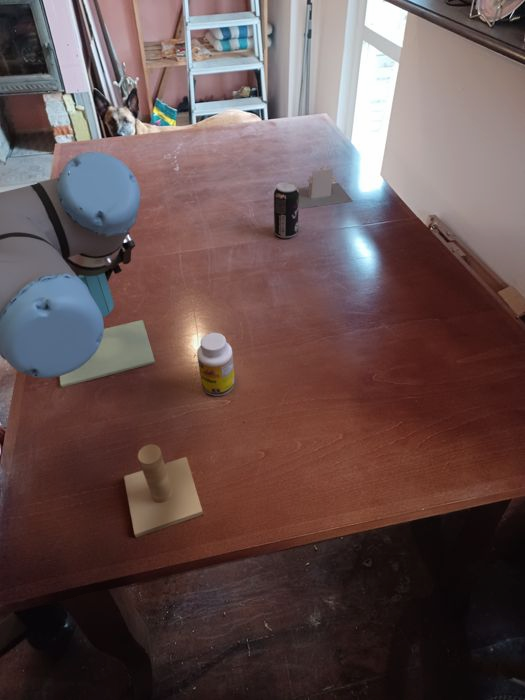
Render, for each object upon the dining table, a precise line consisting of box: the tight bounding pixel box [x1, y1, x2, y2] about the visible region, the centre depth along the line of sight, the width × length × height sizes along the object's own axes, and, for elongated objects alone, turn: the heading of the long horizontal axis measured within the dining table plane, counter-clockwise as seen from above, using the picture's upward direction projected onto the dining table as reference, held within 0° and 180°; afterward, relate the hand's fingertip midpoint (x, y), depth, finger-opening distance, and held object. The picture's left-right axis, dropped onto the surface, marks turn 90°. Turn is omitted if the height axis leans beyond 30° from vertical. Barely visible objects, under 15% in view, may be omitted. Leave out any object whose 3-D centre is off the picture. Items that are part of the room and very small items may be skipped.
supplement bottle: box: [196, 332, 236, 397], centre depth 77 cm, size 6×6×10 cm
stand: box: [123, 443, 204, 538], centre depth 62 cm, size 9×9×10 cm
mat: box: [59, 319, 156, 388], centre depth 86 cm, size 16×12×1 cm
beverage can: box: [273, 181, 300, 239], centre depth 111 cm, size 6×6×12 cm
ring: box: [78, 273, 115, 319], centre depth 76 cm, size 8×8×8 cm
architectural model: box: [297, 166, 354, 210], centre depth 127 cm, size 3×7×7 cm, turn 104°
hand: (77, 284), depth 79 cm, fingers closed on ring, 8 cm apart
